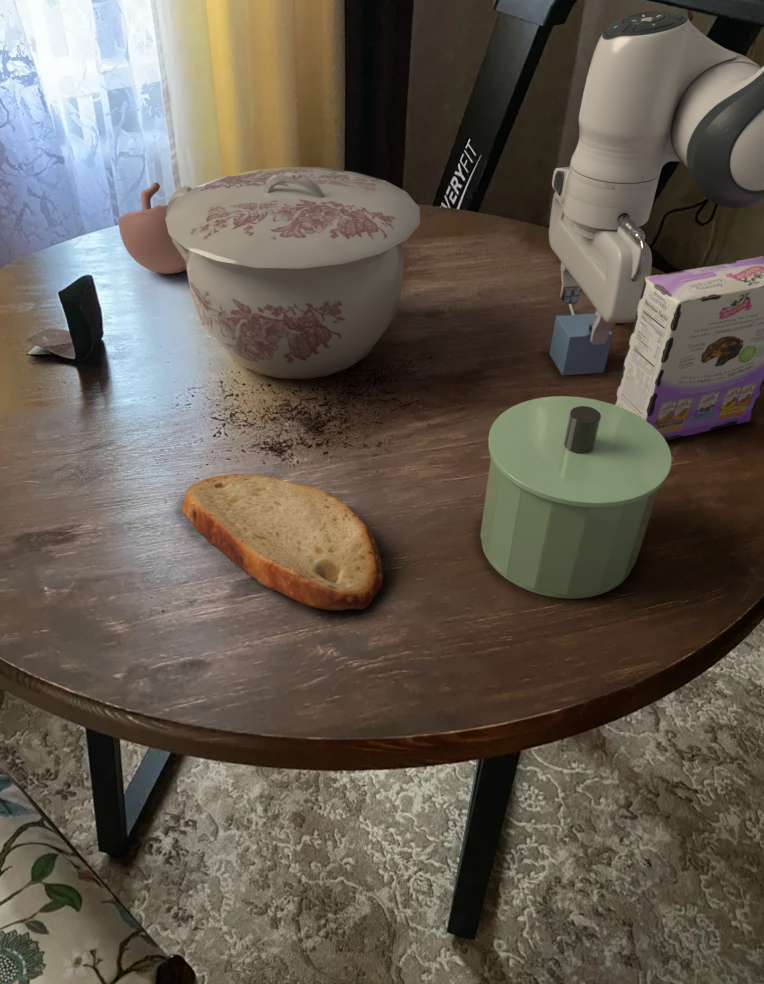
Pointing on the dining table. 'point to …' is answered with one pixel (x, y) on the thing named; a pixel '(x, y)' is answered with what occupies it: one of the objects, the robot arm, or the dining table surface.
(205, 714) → the dining table surface
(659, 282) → the candy box
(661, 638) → the dining table surface
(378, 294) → the chamber pot
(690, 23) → the robot arm
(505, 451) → the pot lid
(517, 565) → the pot
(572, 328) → the block
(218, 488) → the bread slice
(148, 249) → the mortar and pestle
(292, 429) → the dining table surface
